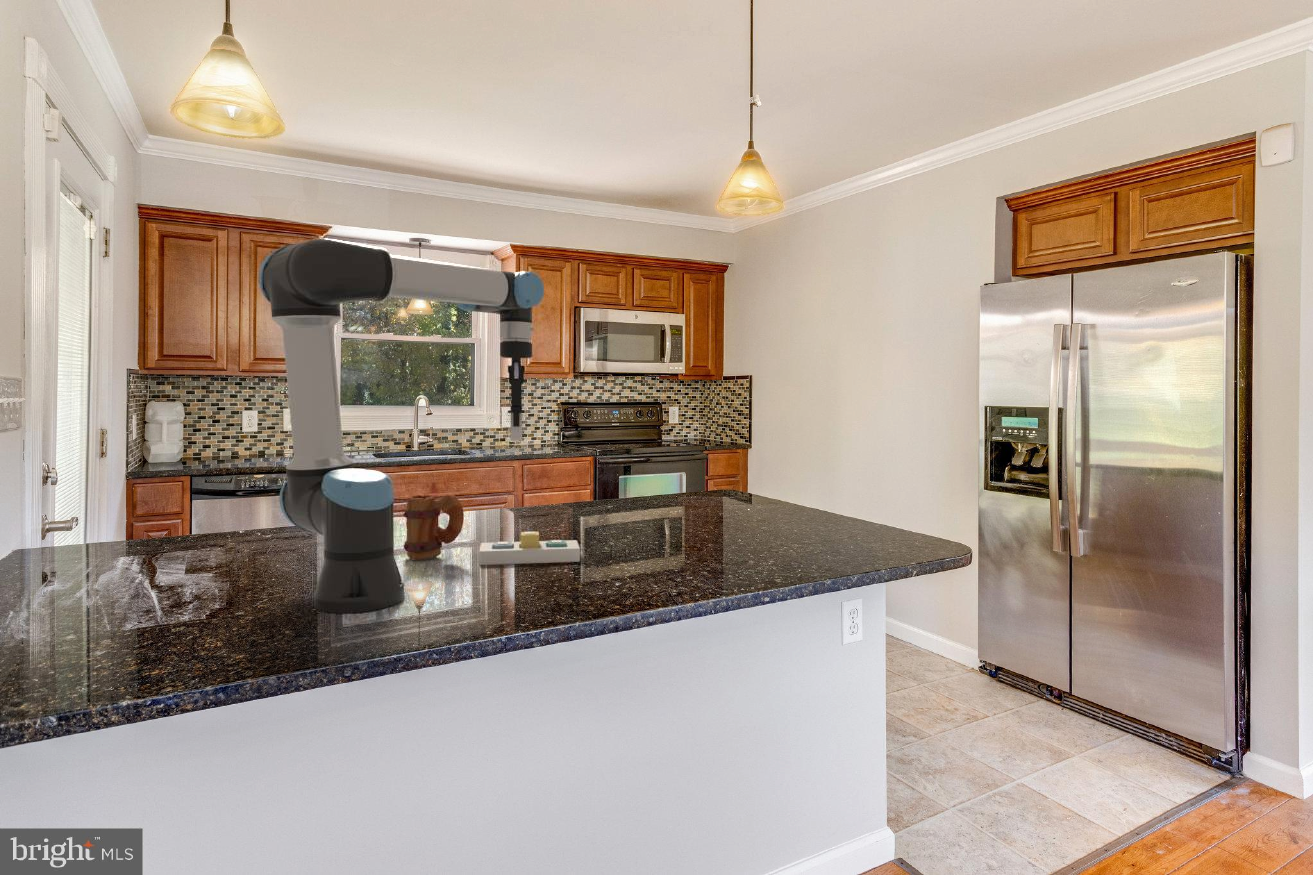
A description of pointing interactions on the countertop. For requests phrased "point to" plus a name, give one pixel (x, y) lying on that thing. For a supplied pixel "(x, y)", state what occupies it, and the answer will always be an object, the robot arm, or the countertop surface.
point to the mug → (431, 524)
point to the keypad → (529, 554)
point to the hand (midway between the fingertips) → (516, 440)
